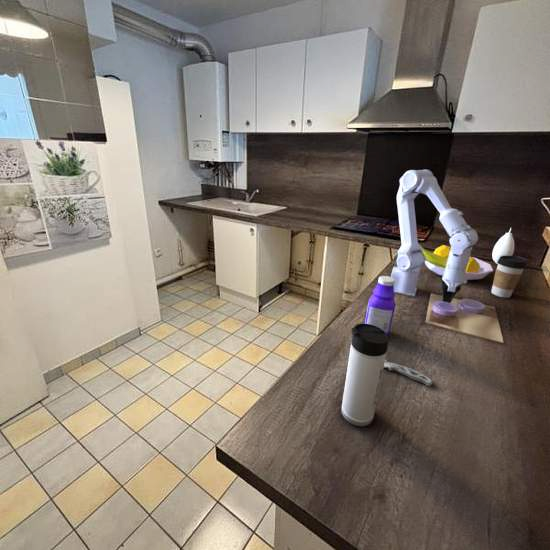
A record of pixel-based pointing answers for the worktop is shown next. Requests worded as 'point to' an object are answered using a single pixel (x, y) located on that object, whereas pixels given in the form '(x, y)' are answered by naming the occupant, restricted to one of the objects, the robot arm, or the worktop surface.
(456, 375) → the worktop surface
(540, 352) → the worktop surface
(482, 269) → the fruit bowl
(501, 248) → the white teardrop shape
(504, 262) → the coffee cup
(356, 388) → the travel mug
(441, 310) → the saucer
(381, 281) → the bottle
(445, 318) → the board
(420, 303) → the worktop surface
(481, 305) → the saucer
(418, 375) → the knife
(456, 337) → the worktop surface
